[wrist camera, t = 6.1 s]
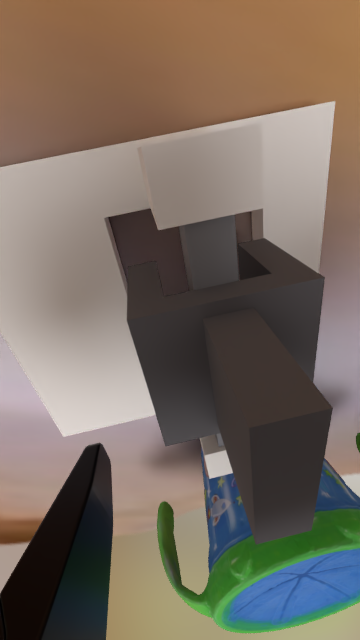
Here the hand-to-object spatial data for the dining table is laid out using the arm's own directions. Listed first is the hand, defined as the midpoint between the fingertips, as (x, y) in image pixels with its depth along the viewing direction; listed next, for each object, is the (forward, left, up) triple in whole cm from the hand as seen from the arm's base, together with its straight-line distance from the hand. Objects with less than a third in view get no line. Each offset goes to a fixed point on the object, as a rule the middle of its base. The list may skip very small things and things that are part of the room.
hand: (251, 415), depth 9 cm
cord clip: (0, 0, -6) cm, 6 cm away
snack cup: (-14, -2, -9) cm, 17 cm away
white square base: (0, +2, -9) cm, 9 cm away
